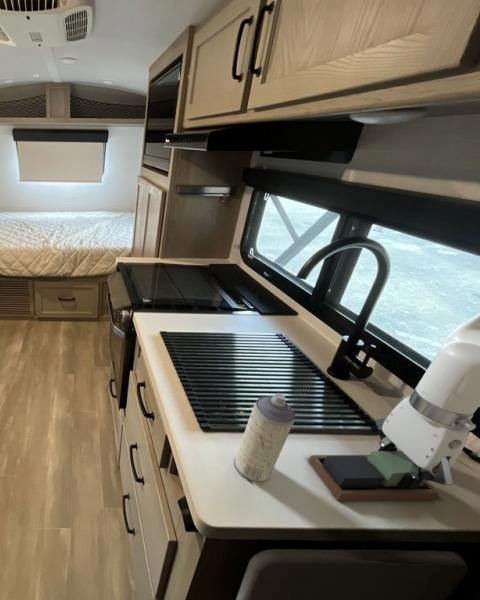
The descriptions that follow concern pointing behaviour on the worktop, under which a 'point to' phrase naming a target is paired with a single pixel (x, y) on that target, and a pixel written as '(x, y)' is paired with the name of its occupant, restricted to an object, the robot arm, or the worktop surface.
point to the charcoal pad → (353, 472)
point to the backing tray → (360, 495)
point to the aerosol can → (264, 437)
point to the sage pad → (391, 466)
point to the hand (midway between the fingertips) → (393, 473)
